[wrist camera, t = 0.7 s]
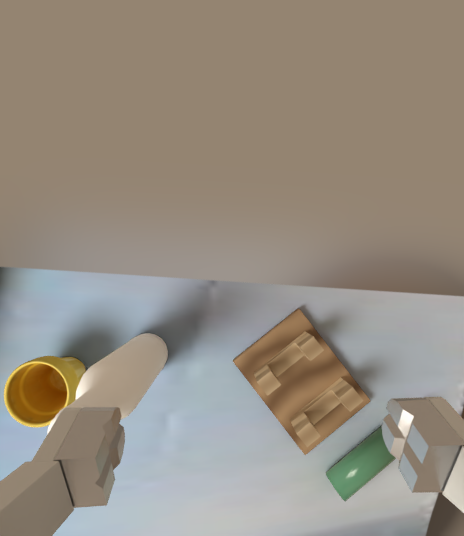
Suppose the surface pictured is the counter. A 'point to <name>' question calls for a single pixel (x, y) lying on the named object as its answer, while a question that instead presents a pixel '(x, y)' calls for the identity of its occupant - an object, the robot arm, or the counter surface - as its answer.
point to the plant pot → (42, 389)
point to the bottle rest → (301, 381)
